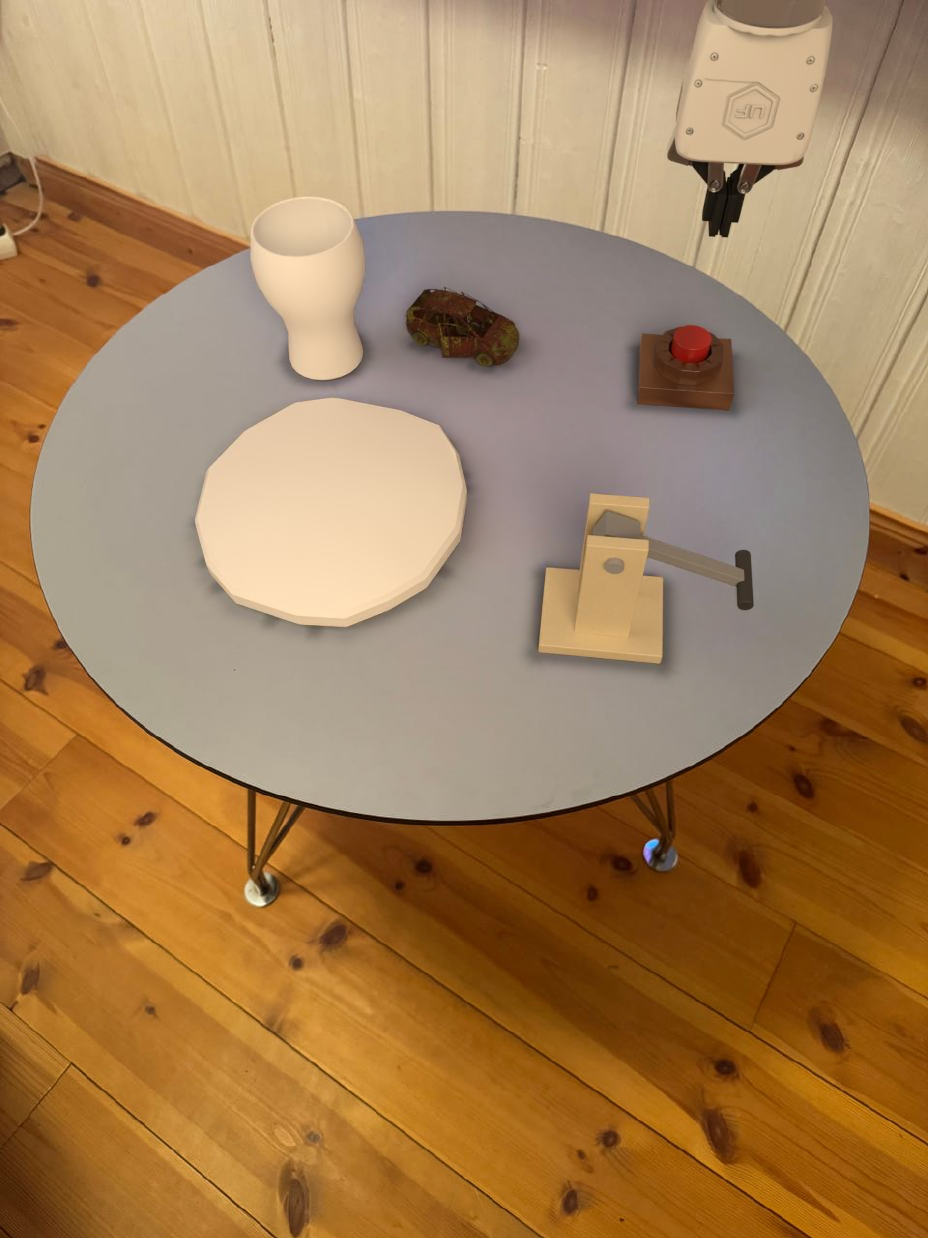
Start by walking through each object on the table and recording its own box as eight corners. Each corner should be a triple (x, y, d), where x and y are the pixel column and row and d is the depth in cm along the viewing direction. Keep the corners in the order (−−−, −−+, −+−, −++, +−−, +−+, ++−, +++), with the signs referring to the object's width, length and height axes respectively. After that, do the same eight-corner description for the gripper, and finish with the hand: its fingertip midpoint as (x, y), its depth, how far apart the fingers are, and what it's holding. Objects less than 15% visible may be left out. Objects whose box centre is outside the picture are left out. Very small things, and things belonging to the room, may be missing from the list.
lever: (740, 564, 74) (758, 547, 72) (743, 616, 71) (761, 600, 69) (593, 514, 71) (607, 495, 69) (590, 566, 68) (605, 548, 66)
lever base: (661, 584, 80) (687, 485, 69) (660, 664, 75) (688, 570, 65) (545, 574, 80) (554, 474, 70) (538, 652, 76) (546, 558, 65)
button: (707, 340, 91) (711, 325, 90) (708, 364, 89) (712, 350, 88) (671, 337, 92) (673, 323, 90) (670, 362, 90) (673, 348, 88)
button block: (726, 355, 95) (735, 324, 92) (729, 410, 91) (738, 379, 88) (639, 350, 96) (644, 318, 93) (637, 404, 92) (643, 372, 88)
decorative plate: (259, 361, 90) (502, 415, 86) (268, 393, 94) (501, 446, 89) (131, 556, 77) (408, 631, 73) (147, 584, 81) (412, 658, 76)
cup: (255, 367, 96) (220, 238, 83) (316, 310, 101) (291, 180, 88) (337, 404, 93) (314, 275, 80) (396, 343, 98) (383, 212, 85)
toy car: (396, 348, 97) (392, 310, 93) (427, 309, 100) (425, 271, 96) (499, 382, 94) (499, 344, 90) (527, 341, 97) (529, 302, 93)
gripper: (663, 10, 63) (629, 249, 78) (890, 17, 61) (810, 259, 77) (663, -39, 67) (631, 197, 82) (876, -33, 65) (803, 206, 81)
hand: (717, 227), depth 79 cm, fingers closed
